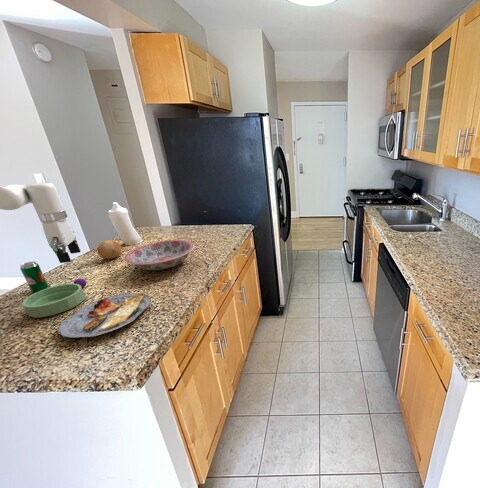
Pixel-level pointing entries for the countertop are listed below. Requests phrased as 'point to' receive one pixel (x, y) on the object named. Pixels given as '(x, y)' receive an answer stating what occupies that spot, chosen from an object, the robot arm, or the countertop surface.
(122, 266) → the countertop surface
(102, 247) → the onion
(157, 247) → the ceramic bowl
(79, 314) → the food plate
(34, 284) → the soda can
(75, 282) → the ball
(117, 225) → the white squeeze bottle
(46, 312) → the green bowl
